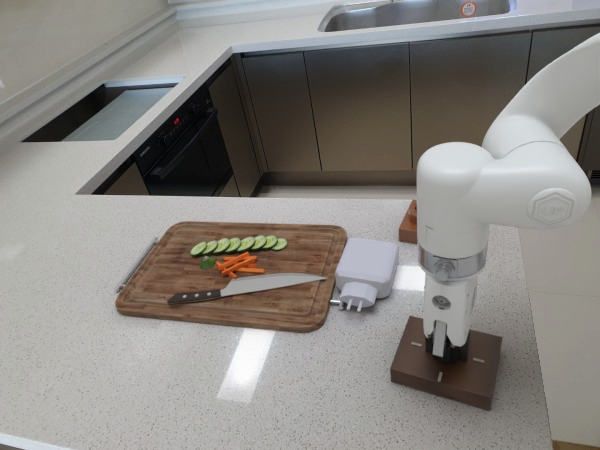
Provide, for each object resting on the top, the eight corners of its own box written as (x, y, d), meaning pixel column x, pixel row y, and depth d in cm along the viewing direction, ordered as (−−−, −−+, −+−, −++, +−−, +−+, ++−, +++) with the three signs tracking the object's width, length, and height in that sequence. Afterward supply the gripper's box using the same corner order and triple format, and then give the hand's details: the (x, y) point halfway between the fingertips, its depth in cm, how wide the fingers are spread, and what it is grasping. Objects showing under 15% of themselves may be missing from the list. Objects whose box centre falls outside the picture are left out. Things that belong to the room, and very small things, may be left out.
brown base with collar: (473, 219, 90) (475, 198, 87) (464, 251, 83) (465, 230, 80) (412, 211, 95) (412, 191, 92) (399, 241, 88) (398, 220, 85)
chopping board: (362, 230, 92) (361, 218, 91) (337, 336, 72) (335, 323, 70) (167, 225, 106) (162, 214, 104) (100, 313, 85) (93, 301, 84)
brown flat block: (500, 350, 66) (502, 336, 64) (490, 411, 59) (492, 397, 57) (409, 328, 71) (409, 314, 69) (390, 381, 64) (389, 367, 63)
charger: (326, 315, 75) (348, 255, 86) (382, 326, 72) (398, 263, 83) (324, 295, 72) (347, 236, 83) (382, 305, 69) (399, 243, 80)
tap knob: (468, 353, 63) (470, 331, 60) (466, 362, 61) (468, 341, 59) (427, 342, 65) (428, 321, 62) (425, 351, 64) (425, 330, 61)
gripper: (474, 306, 45) (464, 410, 56) (496, 213, 56) (484, 315, 67) (399, 290, 48) (403, 391, 59) (434, 206, 59) (432, 304, 70)
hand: (446, 351), depth 63 cm, fingers closed
